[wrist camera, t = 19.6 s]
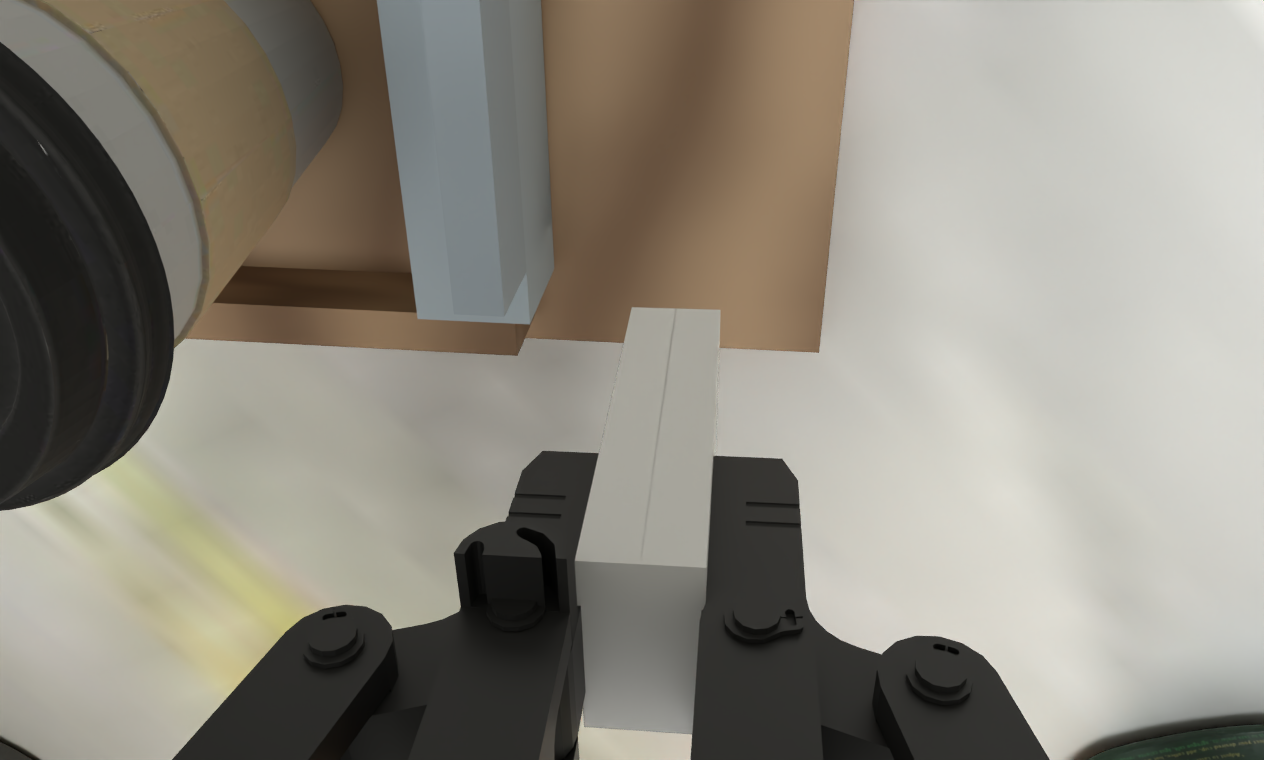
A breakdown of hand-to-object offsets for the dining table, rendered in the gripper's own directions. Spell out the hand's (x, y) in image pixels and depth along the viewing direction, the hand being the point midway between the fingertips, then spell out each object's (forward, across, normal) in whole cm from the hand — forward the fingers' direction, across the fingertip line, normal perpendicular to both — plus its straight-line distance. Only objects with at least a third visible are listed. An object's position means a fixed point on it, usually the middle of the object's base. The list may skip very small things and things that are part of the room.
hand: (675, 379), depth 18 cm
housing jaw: (+11, +6, -2) cm, 13 cm away
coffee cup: (+12, +12, -2) cm, 18 cm away
